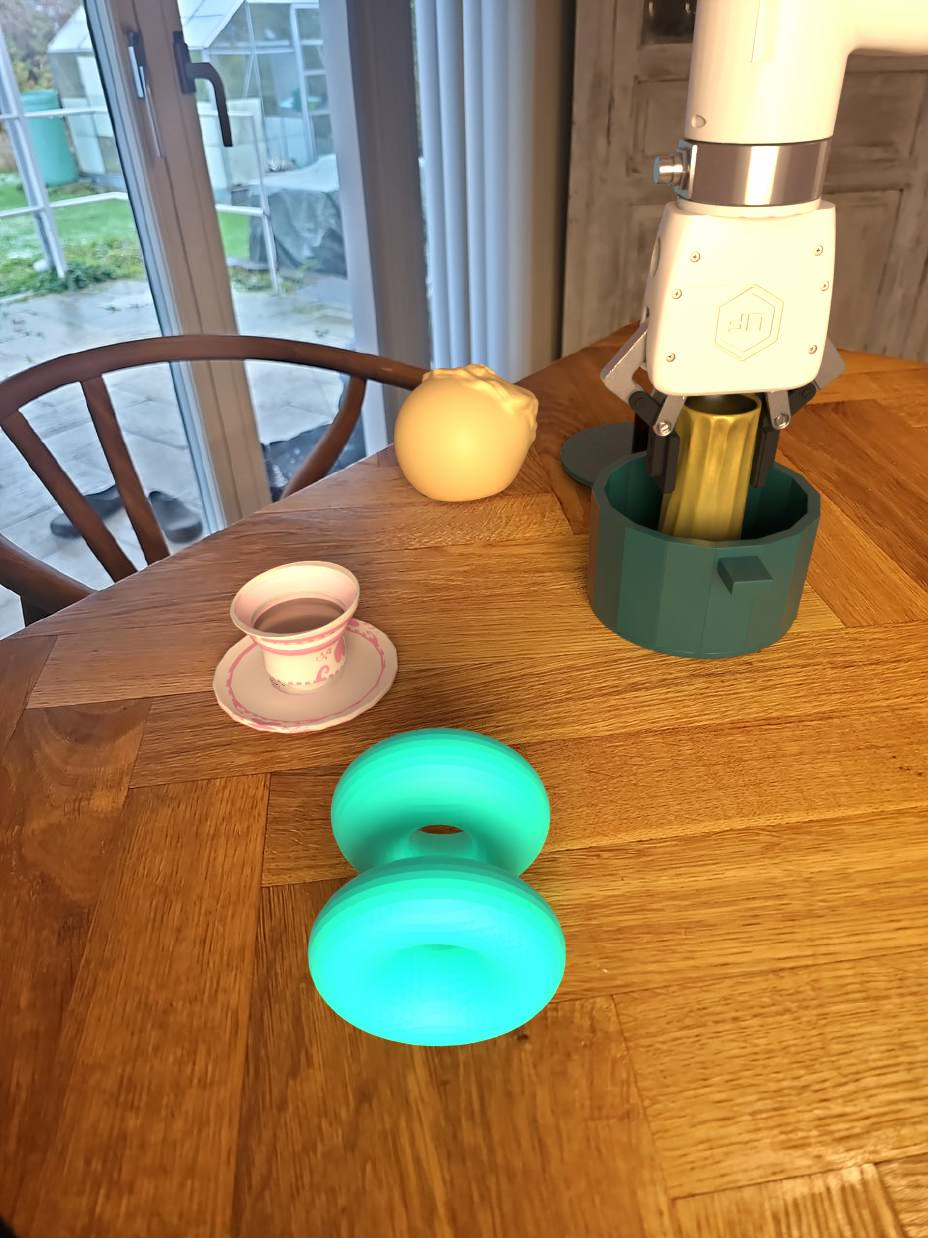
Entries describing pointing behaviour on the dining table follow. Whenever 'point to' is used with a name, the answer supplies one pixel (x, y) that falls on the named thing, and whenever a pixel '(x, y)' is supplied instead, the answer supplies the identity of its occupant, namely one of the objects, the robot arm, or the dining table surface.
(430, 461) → the sculpture
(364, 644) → the teacup
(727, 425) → the vase
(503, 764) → the turquoise spool
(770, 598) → the pot
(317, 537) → the dining table surface
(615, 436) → the pot lid
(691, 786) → the dining table surface
